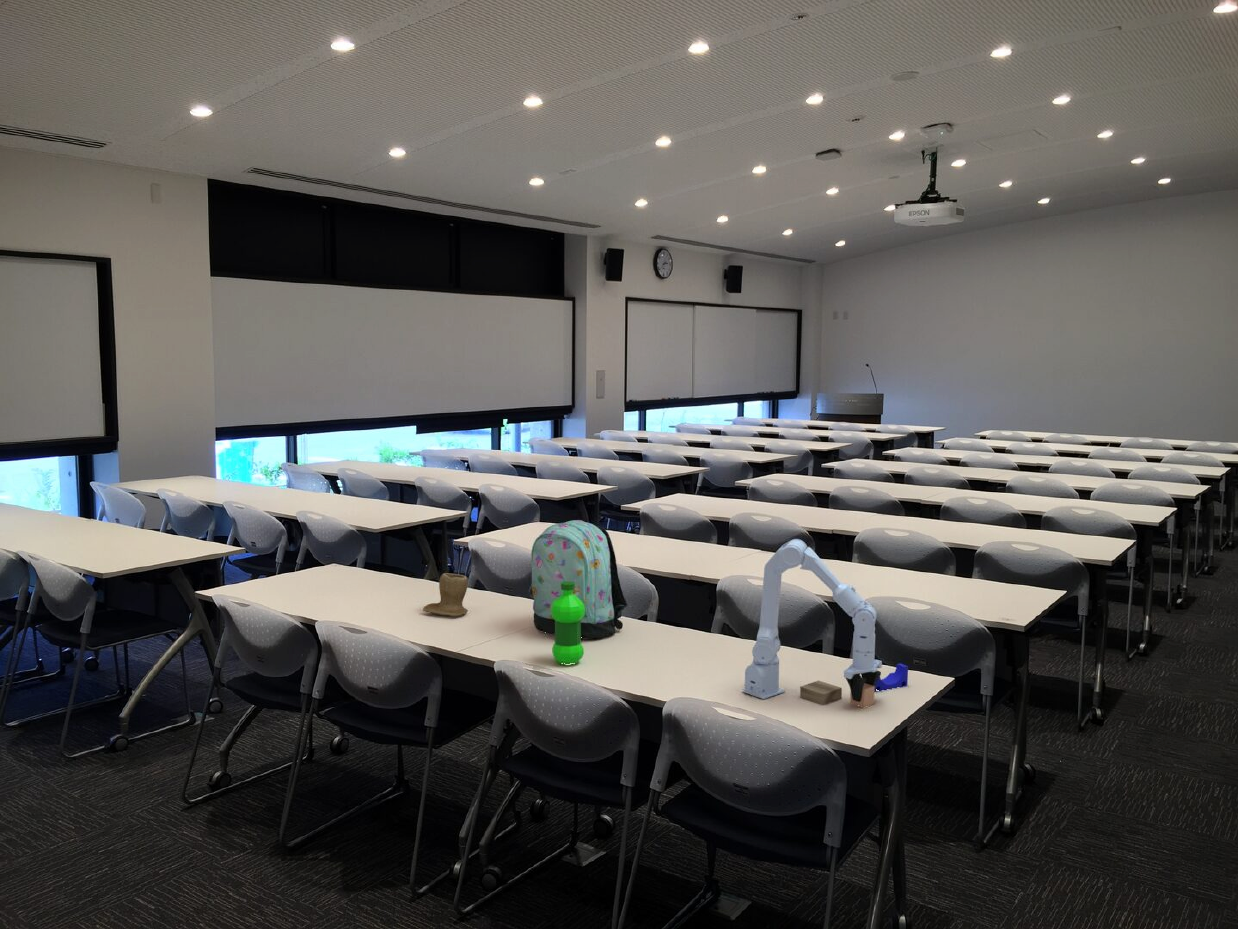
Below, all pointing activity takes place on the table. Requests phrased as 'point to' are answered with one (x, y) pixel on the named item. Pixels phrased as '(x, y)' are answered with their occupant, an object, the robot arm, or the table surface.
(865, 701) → the light tan block
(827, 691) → the olive block
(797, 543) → the robot arm
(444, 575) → the brown boot
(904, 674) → the blue cradle block
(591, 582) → the backpack
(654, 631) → the table surface
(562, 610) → the plastic bottle
